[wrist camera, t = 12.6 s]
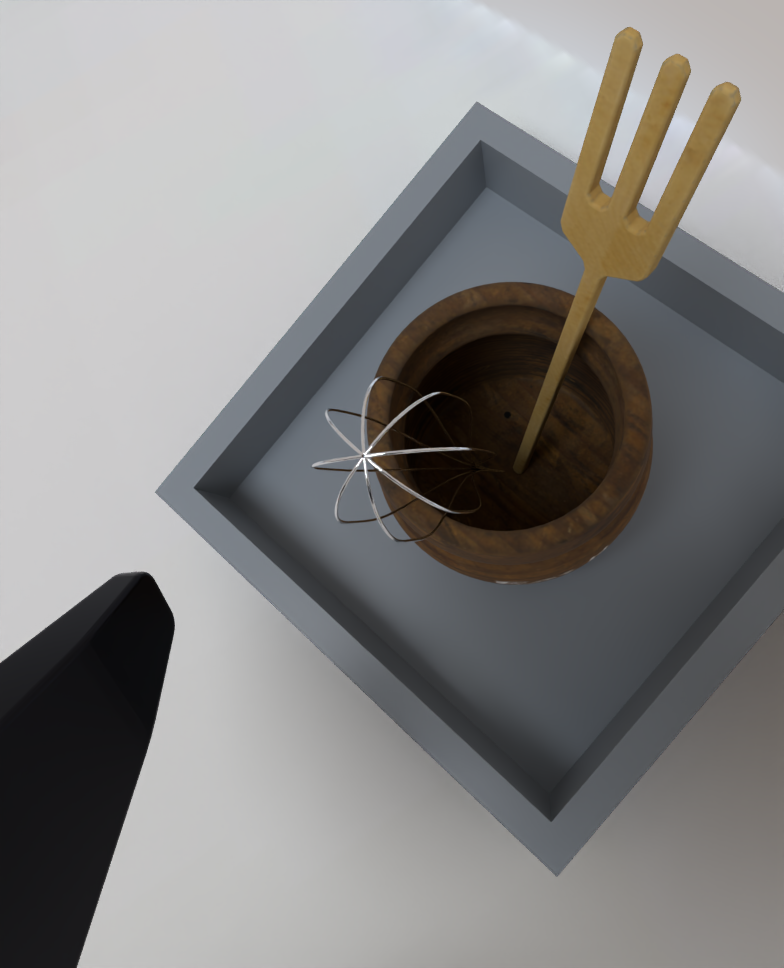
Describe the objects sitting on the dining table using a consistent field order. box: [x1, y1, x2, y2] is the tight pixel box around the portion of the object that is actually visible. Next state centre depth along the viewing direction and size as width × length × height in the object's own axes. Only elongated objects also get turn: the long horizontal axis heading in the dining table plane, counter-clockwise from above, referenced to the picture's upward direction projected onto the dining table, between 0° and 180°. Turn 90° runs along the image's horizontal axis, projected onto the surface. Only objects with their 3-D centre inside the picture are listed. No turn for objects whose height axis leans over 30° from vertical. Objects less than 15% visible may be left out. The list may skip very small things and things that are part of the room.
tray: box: [155, 102, 784, 876], centre depth 18 cm, size 14×14×3 cm
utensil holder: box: [311, 27, 741, 585], centre depth 13 cm, size 6×6×12 cm
